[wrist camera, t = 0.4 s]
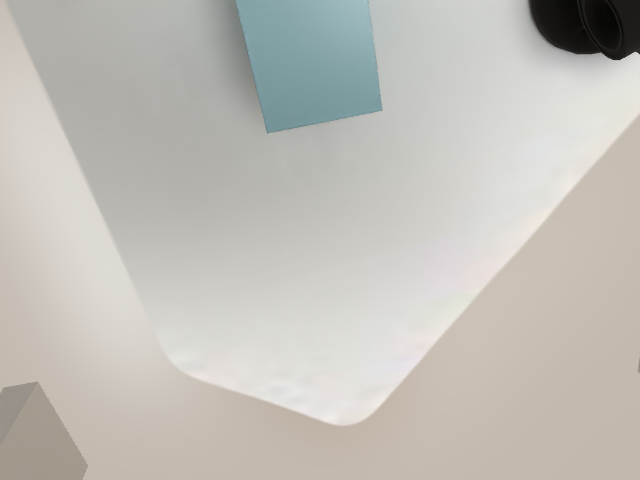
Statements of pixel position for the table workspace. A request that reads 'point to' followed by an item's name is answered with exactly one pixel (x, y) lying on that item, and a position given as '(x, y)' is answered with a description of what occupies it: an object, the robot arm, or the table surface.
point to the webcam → (590, 25)
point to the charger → (311, 60)
